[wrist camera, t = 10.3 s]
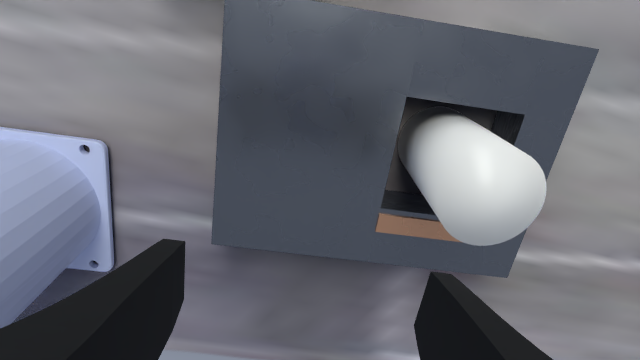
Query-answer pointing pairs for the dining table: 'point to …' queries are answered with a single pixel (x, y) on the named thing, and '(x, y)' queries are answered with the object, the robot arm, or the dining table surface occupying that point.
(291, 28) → the hole plate
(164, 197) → the dining table surface
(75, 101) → the dining table surface
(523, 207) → the barrel peg
